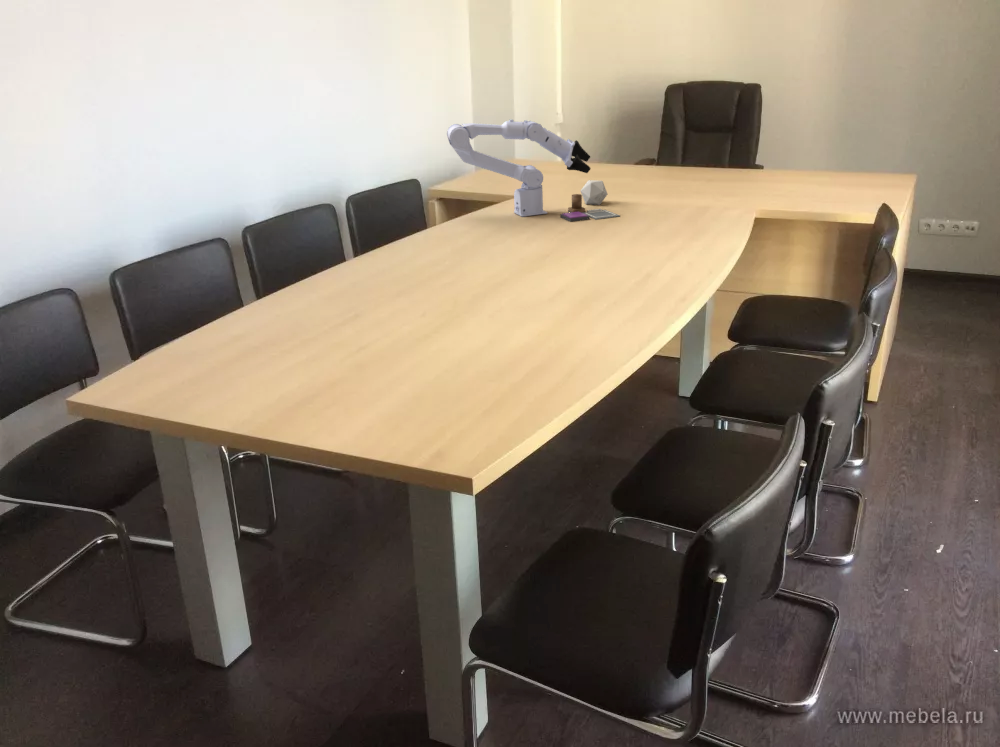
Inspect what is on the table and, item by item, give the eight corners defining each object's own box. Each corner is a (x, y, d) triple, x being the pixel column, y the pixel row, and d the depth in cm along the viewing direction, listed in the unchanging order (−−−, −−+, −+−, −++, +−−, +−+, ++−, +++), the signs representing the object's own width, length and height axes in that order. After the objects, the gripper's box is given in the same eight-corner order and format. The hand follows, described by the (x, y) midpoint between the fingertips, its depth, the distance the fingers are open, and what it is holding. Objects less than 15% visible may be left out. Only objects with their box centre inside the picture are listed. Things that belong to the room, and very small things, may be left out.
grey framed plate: (595, 219, 276) (595, 216, 276) (581, 213, 286) (581, 210, 286) (620, 216, 279) (620, 213, 279) (605, 210, 289) (605, 207, 288)
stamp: (573, 214, 285) (573, 196, 283) (568, 212, 289) (568, 194, 287) (585, 213, 287) (585, 195, 284) (579, 210, 291) (579, 193, 288)
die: (591, 209, 295) (608, 185, 292) (572, 195, 297) (589, 171, 295) (598, 213, 302) (615, 189, 300) (580, 199, 305) (596, 176, 303)
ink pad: (570, 221, 275) (570, 217, 275) (560, 217, 282) (560, 213, 282) (589, 219, 277) (589, 215, 277) (579, 214, 284) (579, 211, 284)
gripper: (562, 146, 275) (596, 167, 279) (562, 125, 285) (595, 145, 290) (550, 162, 279) (583, 182, 284) (551, 140, 290) (583, 160, 294)
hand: (588, 164), depth 287 cm, fingers open, 7 cm apart
